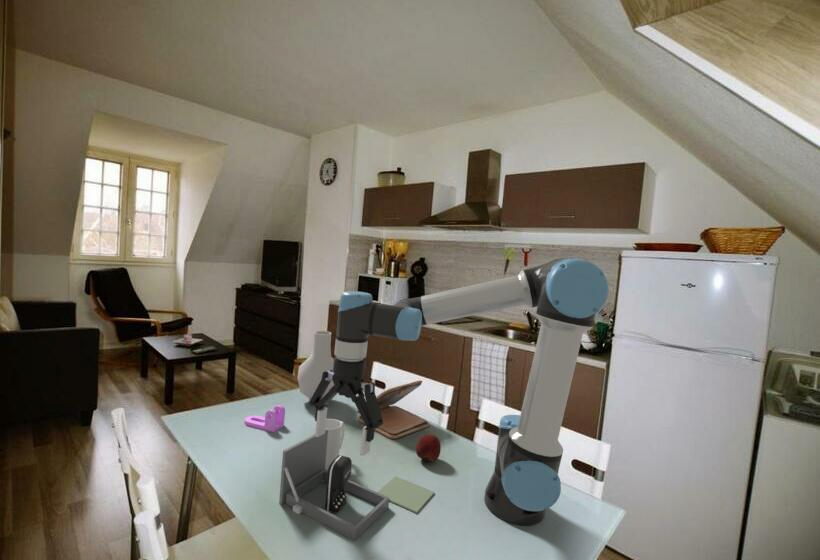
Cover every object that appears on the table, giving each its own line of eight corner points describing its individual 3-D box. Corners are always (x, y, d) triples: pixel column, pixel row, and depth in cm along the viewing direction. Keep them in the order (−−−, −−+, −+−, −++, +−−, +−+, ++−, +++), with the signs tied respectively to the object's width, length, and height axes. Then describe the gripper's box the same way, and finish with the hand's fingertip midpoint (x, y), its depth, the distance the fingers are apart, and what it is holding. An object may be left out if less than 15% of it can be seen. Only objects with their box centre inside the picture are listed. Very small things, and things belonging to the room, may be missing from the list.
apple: (444, 461, 121) (447, 436, 121) (428, 470, 116) (431, 443, 115) (426, 451, 126) (428, 427, 126) (409, 459, 121) (412, 433, 120)
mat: (434, 493, 104) (434, 491, 104) (416, 513, 96) (416, 512, 96) (395, 477, 110) (395, 476, 110) (375, 495, 101) (375, 493, 101)
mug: (327, 473, 109) (330, 431, 108) (309, 465, 112) (312, 424, 111) (350, 459, 117) (354, 420, 117) (333, 451, 121) (336, 413, 120)
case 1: (390, 505, 98) (394, 455, 97) (352, 543, 84) (357, 484, 83) (322, 474, 108) (325, 428, 107) (278, 503, 95) (282, 450, 94)
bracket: (283, 426, 135) (285, 406, 134) (273, 432, 130) (275, 412, 129) (251, 418, 138) (253, 398, 138) (240, 424, 133) (242, 404, 133)
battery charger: (338, 516, 92) (342, 469, 91) (323, 512, 93) (327, 465, 92) (350, 499, 99) (354, 455, 98) (336, 495, 100) (340, 451, 99)
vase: (288, 406, 151) (293, 333, 149) (306, 391, 167) (311, 326, 165) (329, 413, 148) (335, 339, 146) (344, 397, 164) (349, 331, 163)
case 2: (393, 407, 160) (397, 368, 159) (432, 426, 146) (436, 383, 145) (353, 419, 146) (356, 377, 144) (392, 442, 131) (396, 395, 130)
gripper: (403, 366, 91) (394, 455, 92) (320, 343, 103) (313, 423, 104) (386, 373, 84) (376, 468, 86) (299, 348, 96) (292, 433, 98)
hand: (341, 443), depth 95 cm, fingers open, 13 cm apart
